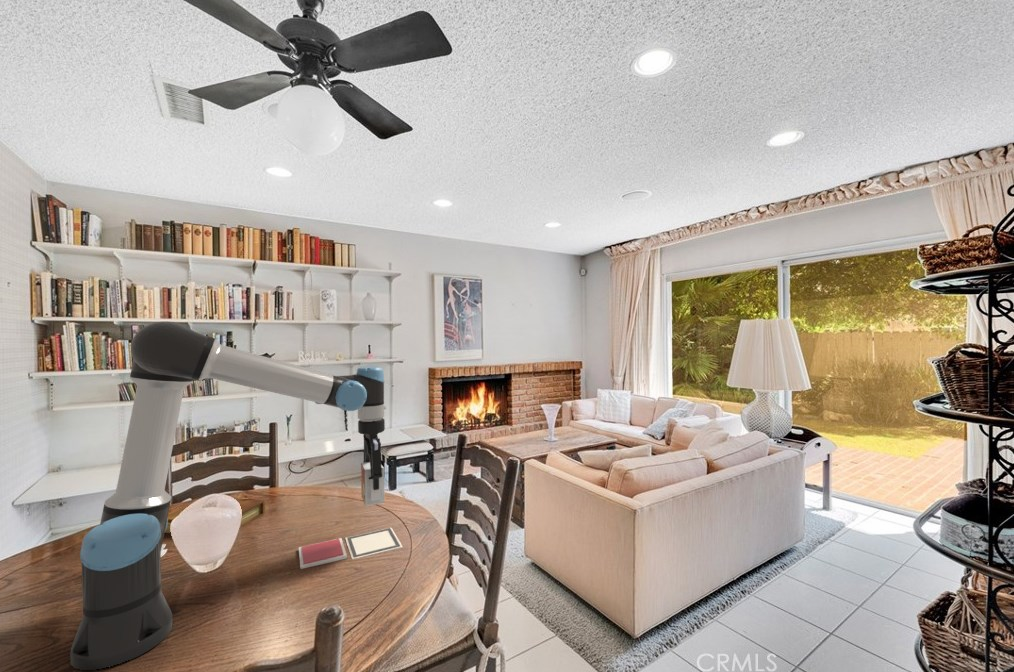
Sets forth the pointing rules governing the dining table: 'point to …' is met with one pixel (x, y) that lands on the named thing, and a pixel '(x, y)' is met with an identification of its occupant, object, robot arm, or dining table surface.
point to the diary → (248, 506)
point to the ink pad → (322, 553)
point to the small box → (366, 485)
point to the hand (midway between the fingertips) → (372, 494)
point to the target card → (372, 543)
